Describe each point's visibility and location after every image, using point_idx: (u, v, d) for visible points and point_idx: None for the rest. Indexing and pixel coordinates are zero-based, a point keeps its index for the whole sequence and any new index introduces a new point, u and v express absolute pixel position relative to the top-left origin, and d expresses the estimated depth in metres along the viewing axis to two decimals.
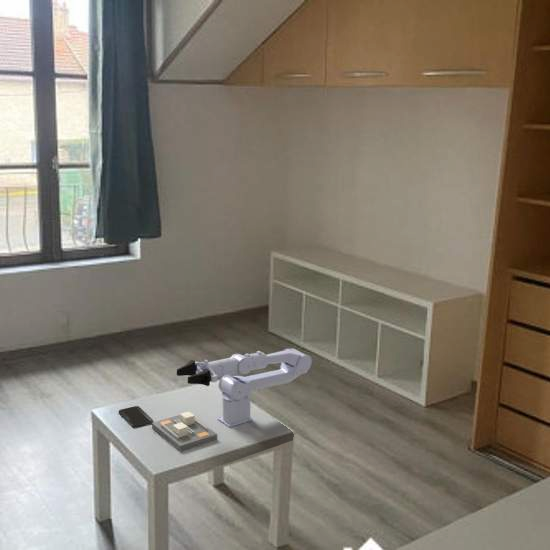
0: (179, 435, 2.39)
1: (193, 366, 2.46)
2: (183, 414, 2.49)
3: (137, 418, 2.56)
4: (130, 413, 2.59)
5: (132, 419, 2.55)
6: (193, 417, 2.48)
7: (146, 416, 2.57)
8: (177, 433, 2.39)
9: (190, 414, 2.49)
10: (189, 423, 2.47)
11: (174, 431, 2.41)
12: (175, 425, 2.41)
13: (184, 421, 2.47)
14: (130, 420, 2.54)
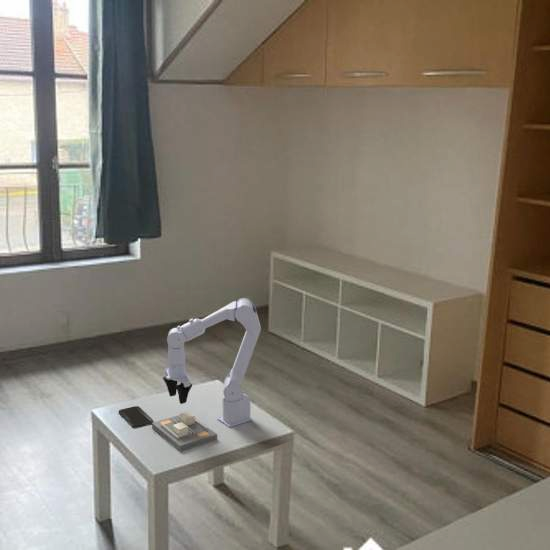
0: (179, 435, 2.39)
1: (169, 380, 2.53)
2: (183, 414, 2.49)
3: (137, 418, 2.56)
4: (130, 413, 2.59)
5: (132, 419, 2.55)
6: (193, 417, 2.48)
7: (146, 416, 2.57)
8: (177, 433, 2.39)
9: (190, 414, 2.49)
10: (189, 423, 2.47)
11: (174, 431, 2.41)
12: (175, 425, 2.41)
13: (184, 421, 2.47)
14: (130, 420, 2.54)
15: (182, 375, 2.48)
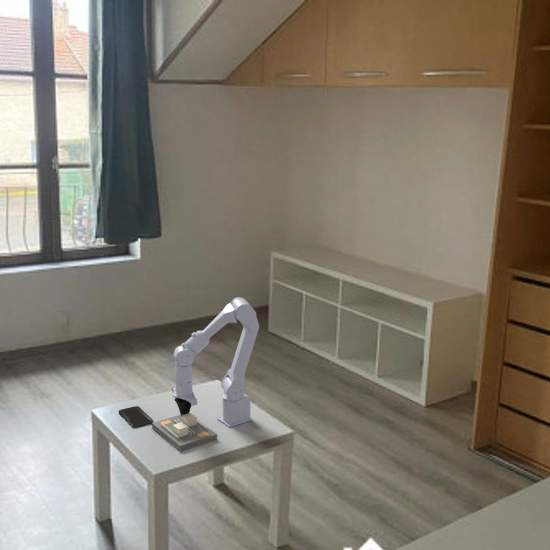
0: (179, 435, 2.39)
1: None
2: (185, 415, 2.48)
3: (137, 418, 2.56)
4: (130, 413, 2.59)
5: (132, 419, 2.55)
6: (195, 418, 2.47)
7: (146, 416, 2.57)
8: (177, 433, 2.39)
9: (192, 415, 2.48)
10: (190, 424, 2.46)
11: (174, 431, 2.41)
12: (175, 425, 2.41)
13: (186, 422, 2.46)
14: (130, 420, 2.54)
15: (189, 393, 2.46)
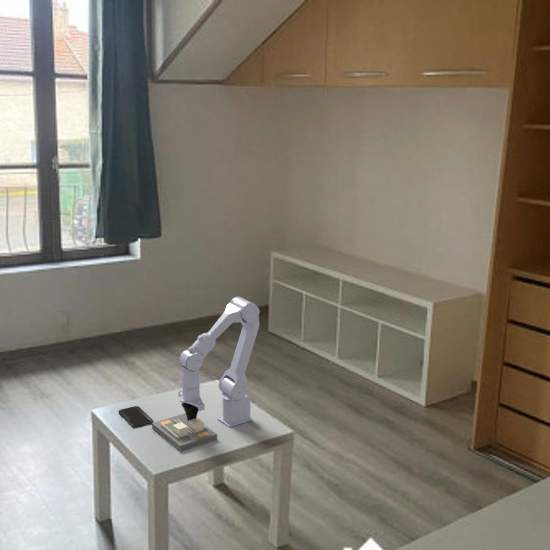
0: (179, 435, 2.39)
1: None
2: (192, 420, 2.44)
3: (137, 418, 2.56)
4: (130, 413, 2.59)
5: (132, 419, 2.55)
6: (202, 424, 2.43)
7: (146, 416, 2.57)
8: (177, 433, 2.39)
9: (199, 420, 2.44)
10: (198, 429, 2.42)
11: (174, 431, 2.41)
12: (175, 425, 2.41)
13: (193, 428, 2.42)
14: (130, 420, 2.54)
15: (196, 398, 2.42)
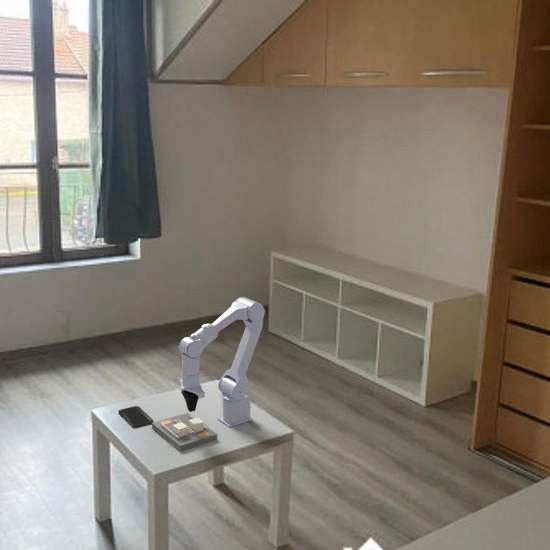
0: (179, 435, 2.39)
1: None
2: (192, 420, 2.44)
3: (137, 418, 2.56)
4: (130, 413, 2.59)
5: (132, 419, 2.55)
6: (202, 424, 2.43)
7: (146, 416, 2.57)
8: (177, 433, 2.39)
9: (199, 420, 2.44)
10: (197, 429, 2.43)
11: (174, 431, 2.41)
12: (175, 425, 2.41)
13: (193, 428, 2.42)
14: (130, 420, 2.54)
15: (196, 386, 2.40)
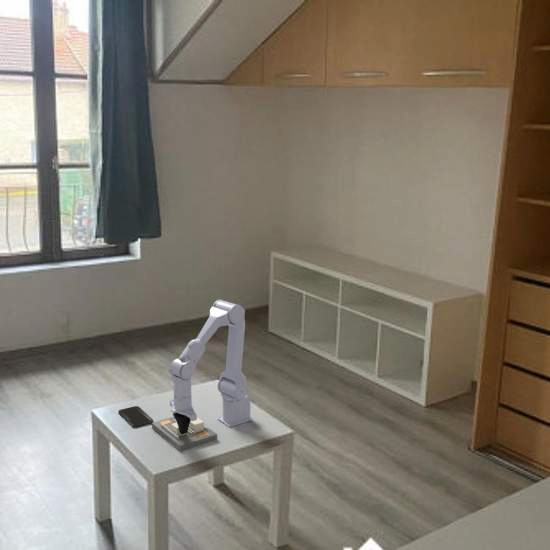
0: (178, 434, 2.39)
1: None
2: None
3: (137, 418, 2.56)
4: (130, 413, 2.59)
5: (132, 419, 2.55)
6: (202, 424, 2.43)
7: (146, 416, 2.57)
8: (176, 432, 2.40)
9: (199, 420, 2.44)
10: (197, 429, 2.43)
11: (173, 430, 2.41)
12: (174, 424, 2.41)
13: (193, 428, 2.42)
14: (130, 420, 2.54)
15: (188, 408, 2.35)
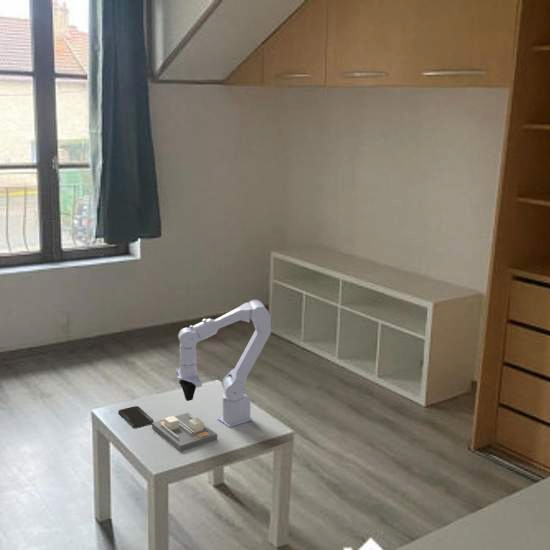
0: (170, 428, 2.43)
1: None
2: (192, 420, 2.44)
3: (137, 418, 2.56)
4: (130, 413, 2.59)
5: (132, 419, 2.55)
6: (202, 424, 2.43)
7: (146, 416, 2.57)
8: (168, 426, 2.44)
9: (199, 420, 2.44)
10: (197, 429, 2.43)
11: (165, 424, 2.45)
12: (166, 418, 2.45)
13: (193, 428, 2.42)
14: (130, 420, 2.54)
15: (194, 375, 2.46)
